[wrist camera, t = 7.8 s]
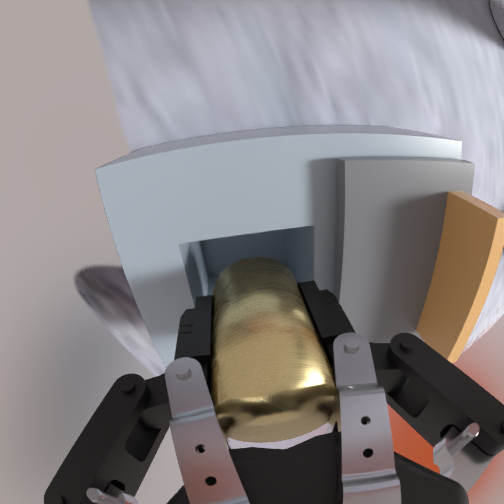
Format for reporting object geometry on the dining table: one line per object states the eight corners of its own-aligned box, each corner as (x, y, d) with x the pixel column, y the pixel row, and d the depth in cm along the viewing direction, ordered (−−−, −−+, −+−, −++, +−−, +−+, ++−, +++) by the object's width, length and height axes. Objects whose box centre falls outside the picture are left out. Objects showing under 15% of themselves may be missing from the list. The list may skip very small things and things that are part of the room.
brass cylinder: (296, 251, 12) (352, 366, 6) (297, 319, 14) (333, 429, 8) (204, 263, 12) (196, 392, 6) (220, 330, 14) (224, 447, 8)
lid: (464, 160, 11) (523, 183, 7) (427, 330, 16) (457, 371, 12) (336, 157, 10) (394, 183, 7) (326, 359, 16) (347, 415, 12)
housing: (388, 126, 18) (461, 141, 11) (378, 281, 24) (421, 337, 17) (144, 147, 17) (94, 169, 10) (184, 311, 23) (174, 385, 16)
